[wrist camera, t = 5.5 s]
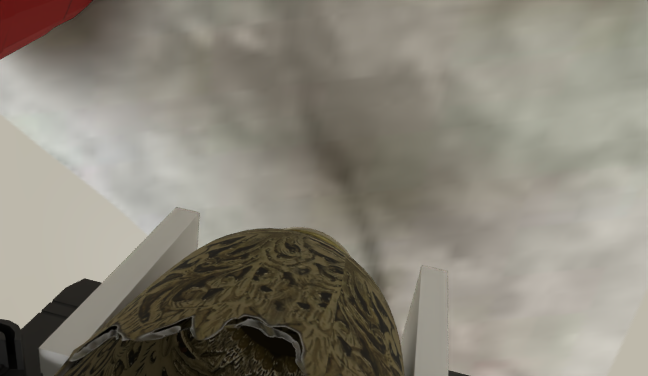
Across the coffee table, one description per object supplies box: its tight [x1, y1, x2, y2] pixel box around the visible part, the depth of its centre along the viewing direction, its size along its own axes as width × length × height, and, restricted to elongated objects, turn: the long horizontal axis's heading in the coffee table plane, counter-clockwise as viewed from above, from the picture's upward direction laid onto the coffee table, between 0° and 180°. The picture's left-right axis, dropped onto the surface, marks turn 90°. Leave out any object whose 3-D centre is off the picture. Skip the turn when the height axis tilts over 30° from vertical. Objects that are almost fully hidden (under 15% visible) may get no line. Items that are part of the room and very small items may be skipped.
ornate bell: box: [54, 227, 405, 376], centre depth 14 cm, size 8×7×8 cm
